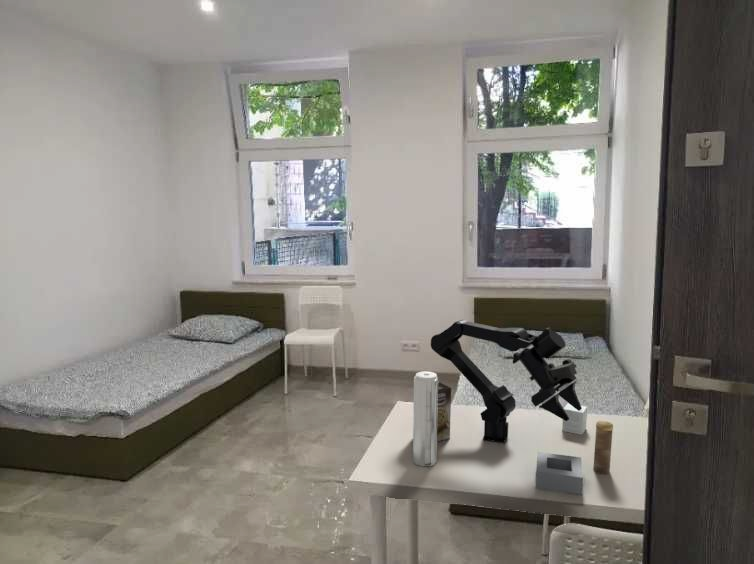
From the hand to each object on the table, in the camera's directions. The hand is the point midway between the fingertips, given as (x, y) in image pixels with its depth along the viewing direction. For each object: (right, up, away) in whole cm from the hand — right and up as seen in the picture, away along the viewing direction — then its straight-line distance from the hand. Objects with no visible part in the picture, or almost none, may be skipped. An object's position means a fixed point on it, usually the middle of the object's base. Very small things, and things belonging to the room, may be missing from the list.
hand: (574, 414), depth 151 cm
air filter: (-40, -13, +2) cm, 43 cm away
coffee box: (-37, -11, +17) cm, 42 cm away
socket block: (-7, -15, -8) cm, 18 cm away
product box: (+8, -10, +22) cm, 26 cm away
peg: (+6, -14, -3) cm, 16 cm away
